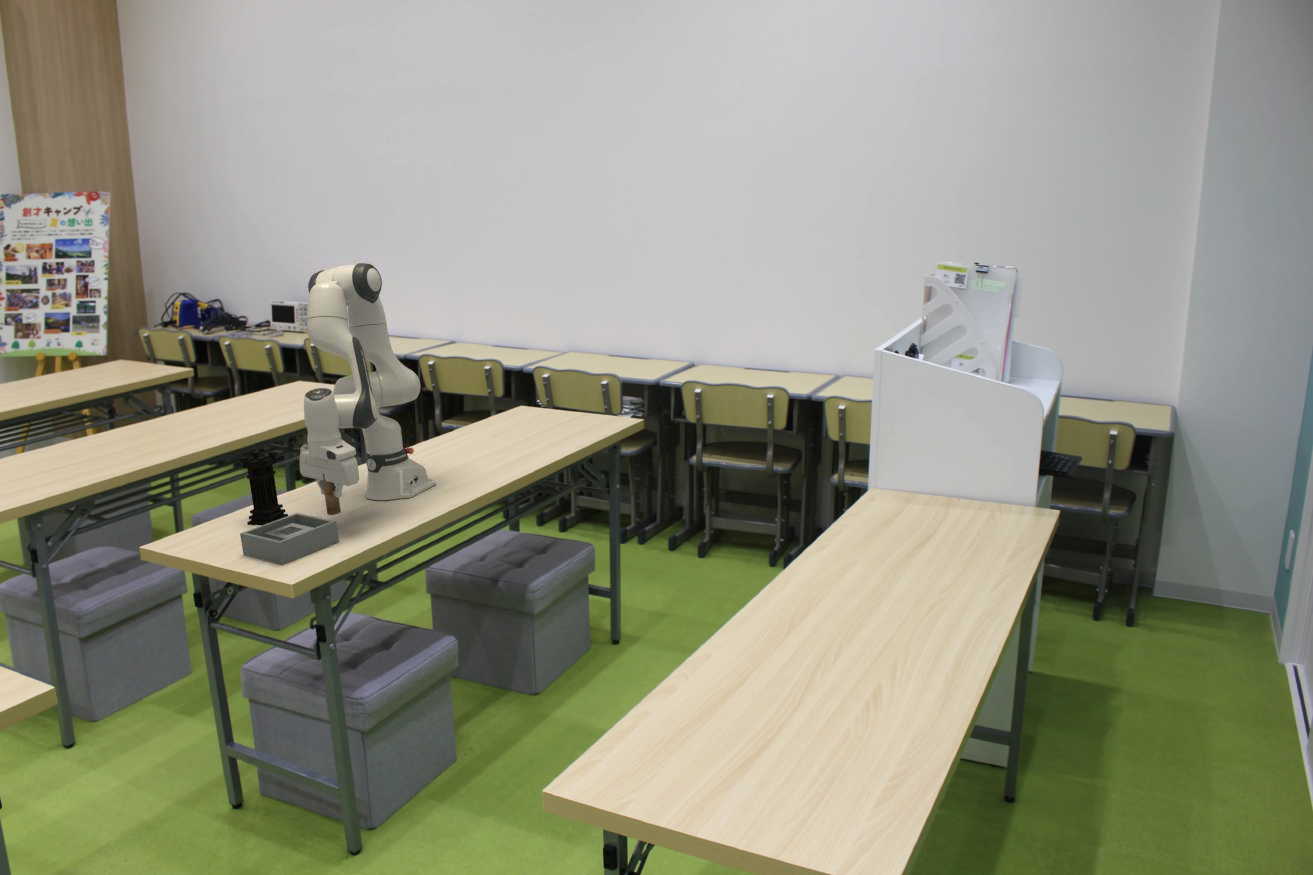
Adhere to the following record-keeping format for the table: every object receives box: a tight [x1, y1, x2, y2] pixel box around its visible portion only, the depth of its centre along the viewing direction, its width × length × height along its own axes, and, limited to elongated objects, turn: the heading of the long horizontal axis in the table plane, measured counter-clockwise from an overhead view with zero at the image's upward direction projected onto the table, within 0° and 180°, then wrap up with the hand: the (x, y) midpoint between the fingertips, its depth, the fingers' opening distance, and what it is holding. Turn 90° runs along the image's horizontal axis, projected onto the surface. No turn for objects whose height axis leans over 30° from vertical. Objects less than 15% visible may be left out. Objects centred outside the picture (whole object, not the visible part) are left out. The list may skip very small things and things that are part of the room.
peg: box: [323, 474, 342, 516], centre depth 262 cm, size 4×4×12 cm
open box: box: [239, 512, 340, 566], centre depth 250 cm, size 18×16×6 cm
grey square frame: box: [264, 523, 313, 541], centre depth 250 cm, size 9×9×4 cm
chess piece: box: [238, 450, 289, 526], centre depth 272 cm, size 8×8×20 cm
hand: (331, 495), depth 262 cm, fingers closed on peg, 4 cm apart
